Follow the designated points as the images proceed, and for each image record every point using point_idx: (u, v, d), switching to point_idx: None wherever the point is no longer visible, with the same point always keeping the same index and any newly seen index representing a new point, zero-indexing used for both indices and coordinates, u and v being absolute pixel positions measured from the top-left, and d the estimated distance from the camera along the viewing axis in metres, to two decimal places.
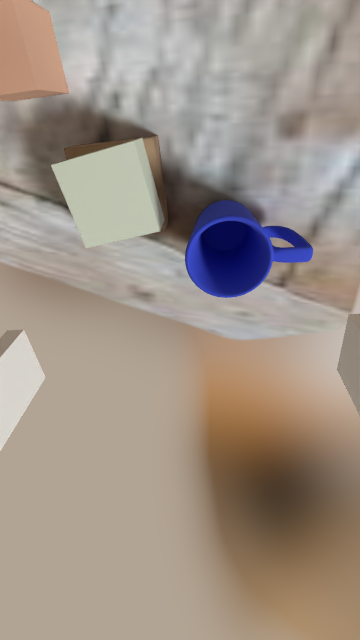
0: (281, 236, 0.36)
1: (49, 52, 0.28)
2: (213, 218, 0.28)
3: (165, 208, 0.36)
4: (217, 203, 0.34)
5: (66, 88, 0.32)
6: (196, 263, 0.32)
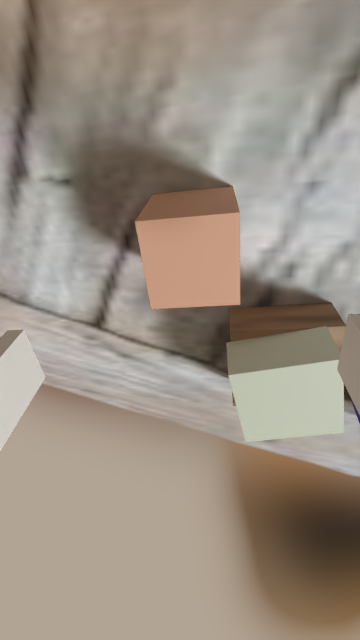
0: None
1: None
2: None
3: None
4: None
5: None
6: None
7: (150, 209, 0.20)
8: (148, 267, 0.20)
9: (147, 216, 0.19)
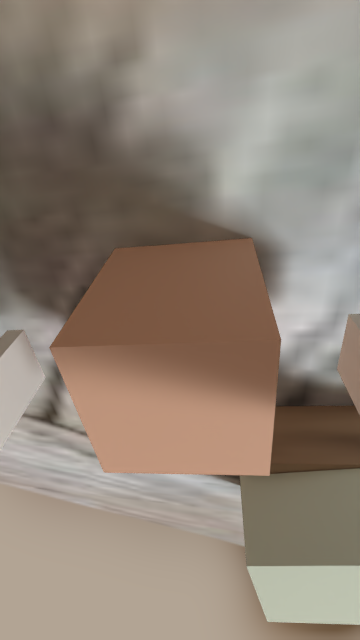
0: None
1: None
2: None
3: None
4: None
5: None
6: None
7: (96, 299, 0.10)
8: (90, 418, 0.10)
9: (81, 328, 0.09)
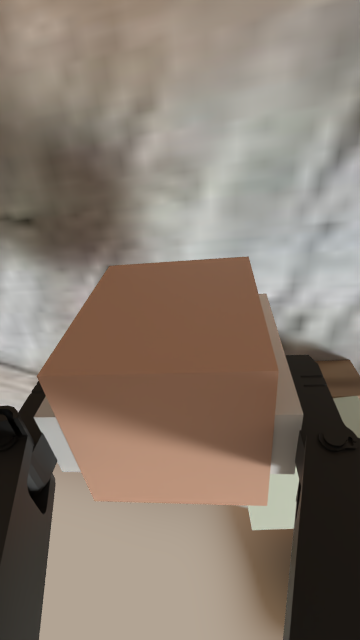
0: None
1: None
2: None
3: None
4: None
5: None
6: None
7: (87, 322, 0.10)
8: (79, 447, 0.10)
9: (71, 354, 0.09)
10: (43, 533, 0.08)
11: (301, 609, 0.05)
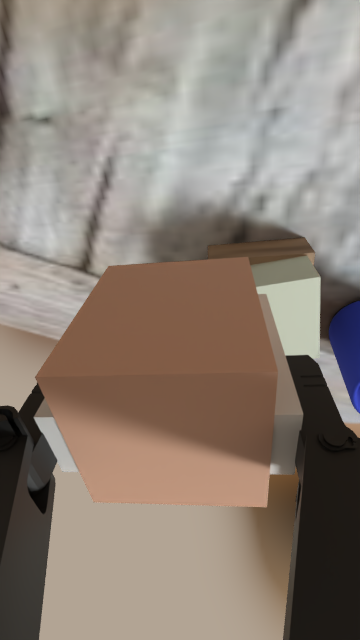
0: None
1: None
2: None
3: None
4: None
5: None
6: None
7: (86, 323, 0.10)
8: (78, 448, 0.10)
9: (70, 355, 0.09)
10: (43, 533, 0.08)
11: (301, 609, 0.05)
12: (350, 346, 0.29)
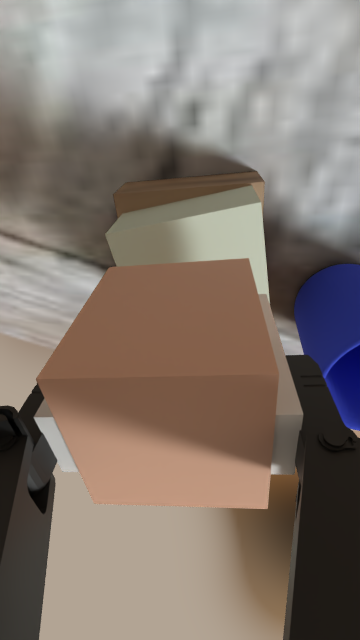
0: None
1: None
2: None
3: None
4: (343, 273, 0.22)
5: None
6: None
7: (87, 324, 0.10)
8: (79, 450, 0.10)
9: (71, 357, 0.09)
10: (43, 533, 0.08)
11: (301, 609, 0.05)
12: (316, 321, 0.20)
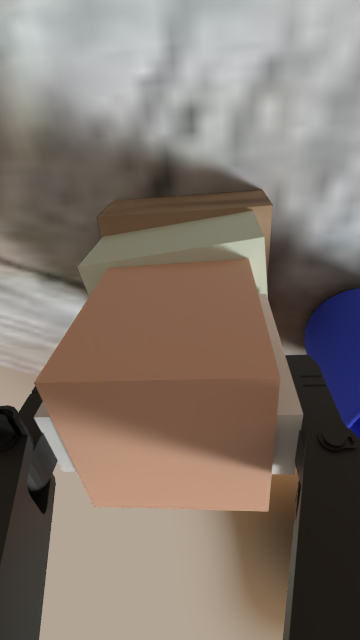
0: None
1: None
2: None
3: None
4: None
5: None
6: None
7: (86, 327, 0.10)
8: (78, 453, 0.10)
9: (69, 360, 0.09)
10: (43, 533, 0.08)
11: (301, 609, 0.05)
12: (334, 360, 0.17)
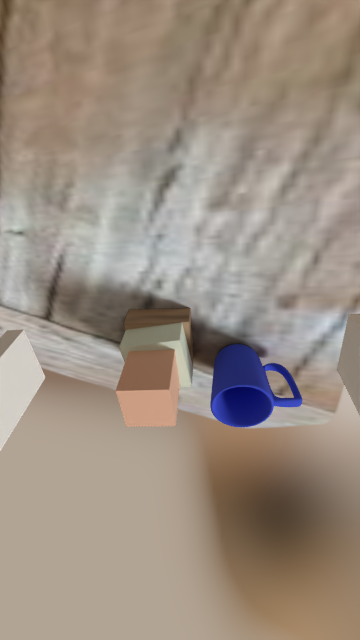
0: (279, 372, 0.47)
1: (176, 380, 0.40)
2: (231, 384, 0.40)
3: (192, 353, 0.48)
4: (232, 351, 0.46)
5: (179, 384, 0.43)
6: (217, 401, 0.44)
7: (125, 375, 0.37)
8: (123, 408, 0.37)
9: (122, 385, 0.36)
10: None
11: None
12: (215, 377, 0.44)
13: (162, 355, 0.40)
